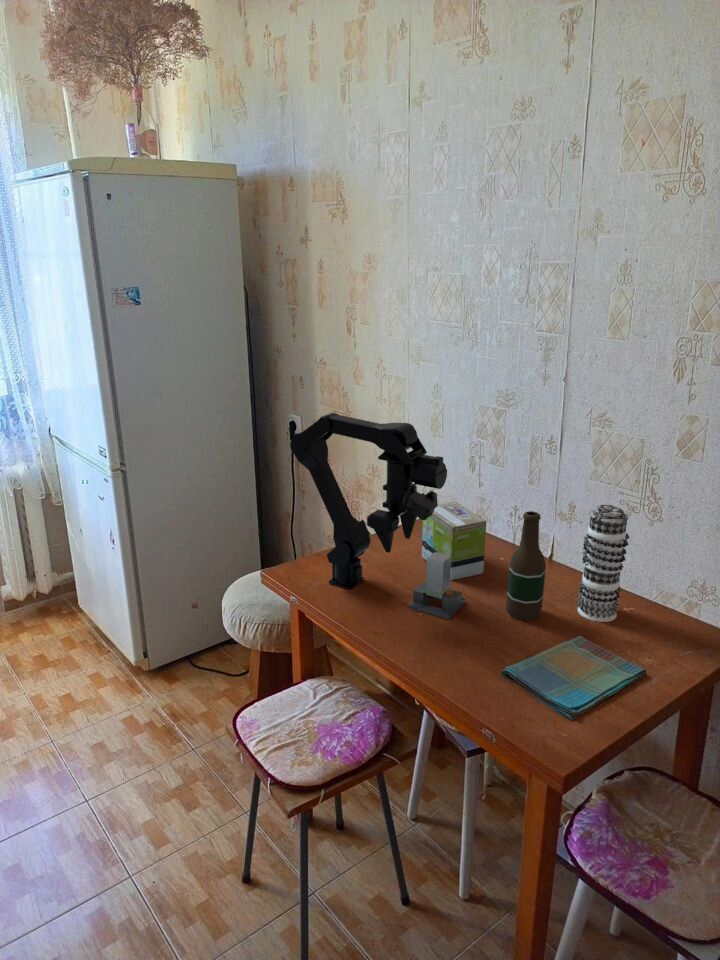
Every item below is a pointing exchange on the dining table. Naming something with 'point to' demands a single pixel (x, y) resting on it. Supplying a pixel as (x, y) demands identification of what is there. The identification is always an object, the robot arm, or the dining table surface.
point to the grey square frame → (449, 601)
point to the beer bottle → (526, 573)
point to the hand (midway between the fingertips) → (398, 545)
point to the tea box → (456, 538)
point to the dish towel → (573, 676)
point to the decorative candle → (603, 563)
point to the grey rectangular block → (438, 575)
